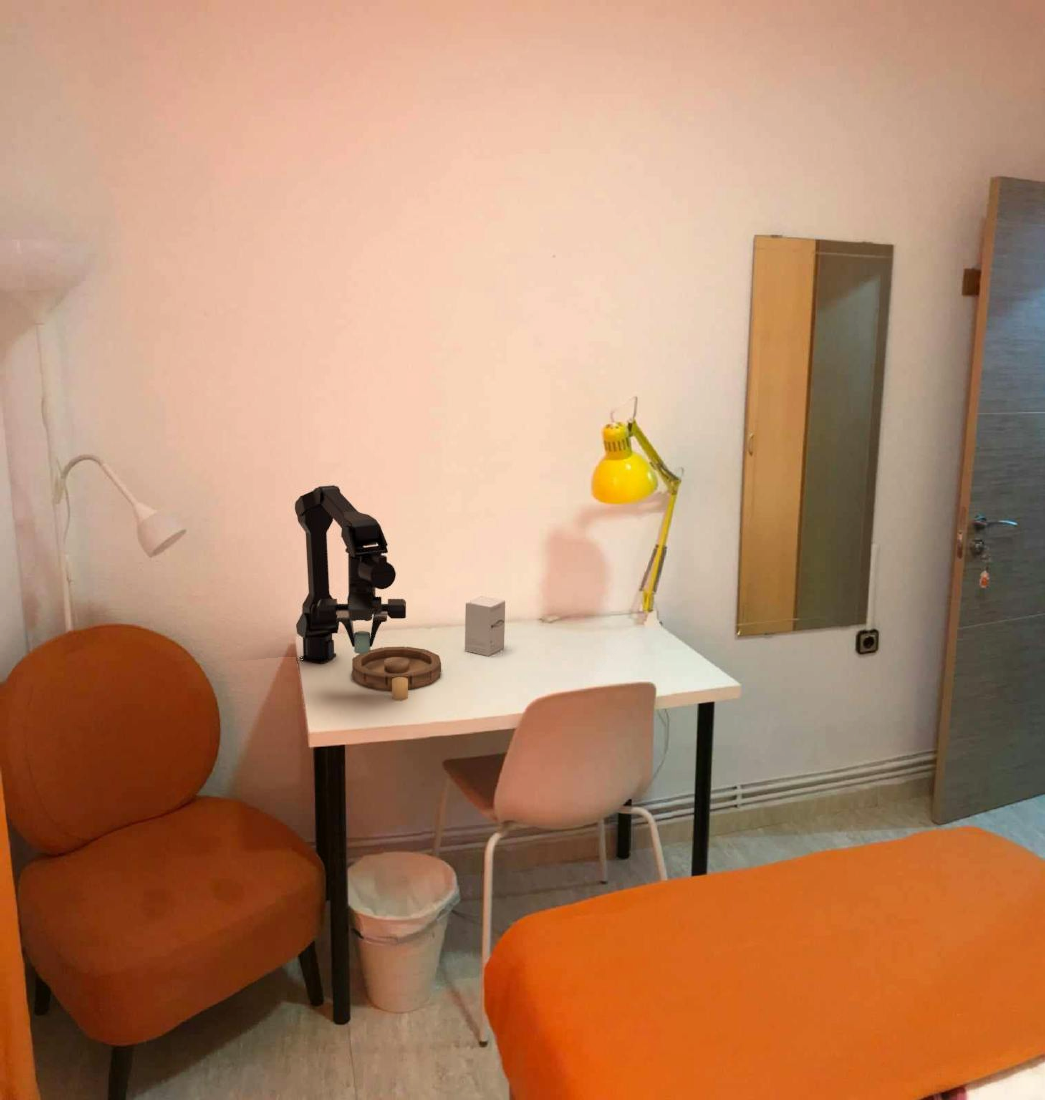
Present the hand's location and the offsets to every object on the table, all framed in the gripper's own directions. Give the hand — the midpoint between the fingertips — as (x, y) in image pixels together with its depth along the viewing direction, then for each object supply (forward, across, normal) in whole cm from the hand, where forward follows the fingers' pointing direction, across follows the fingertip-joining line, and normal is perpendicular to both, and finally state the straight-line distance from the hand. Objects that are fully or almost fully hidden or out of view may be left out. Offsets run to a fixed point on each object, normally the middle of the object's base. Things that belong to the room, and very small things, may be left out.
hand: (362, 646), depth 215 cm
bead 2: (+10, +8, -4) cm, 14 cm away
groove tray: (+11, +7, +10) cm, 16 cm away
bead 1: (+1, 0, 0) cm, 1 cm away
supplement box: (+11, +29, +26) cm, 41 cm away
